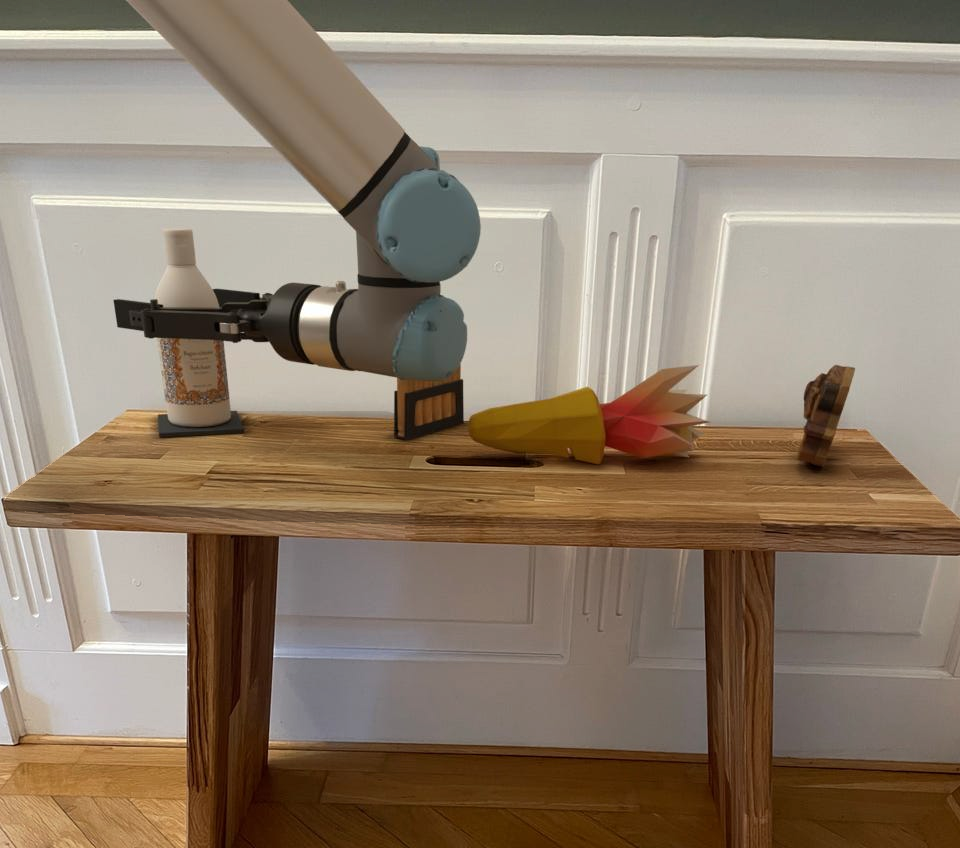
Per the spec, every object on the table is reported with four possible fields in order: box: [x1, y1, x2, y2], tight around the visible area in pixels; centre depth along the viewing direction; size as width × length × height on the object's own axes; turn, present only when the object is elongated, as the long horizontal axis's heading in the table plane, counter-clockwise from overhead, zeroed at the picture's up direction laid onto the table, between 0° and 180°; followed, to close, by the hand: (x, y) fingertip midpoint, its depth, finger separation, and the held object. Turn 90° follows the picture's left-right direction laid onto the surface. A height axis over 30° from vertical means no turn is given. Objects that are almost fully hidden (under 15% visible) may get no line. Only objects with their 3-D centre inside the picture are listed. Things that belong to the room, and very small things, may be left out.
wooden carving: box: [797, 364, 856, 468], centre depth 93 cm, size 16×5×10 cm, turn 162°
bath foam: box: [154, 227, 232, 427], centre depth 99 cm, size 7×7×20 cm
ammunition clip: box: [393, 362, 465, 441], centre depth 101 cm, size 11×2×12 cm, turn 144°
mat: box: [157, 410, 245, 439], centre depth 104 cm, size 9×9×1 cm
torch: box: [467, 364, 711, 465], centre depth 93 cm, size 8×8×25 cm
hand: (169, 306), depth 99 cm, fingers open, 13 cm apart
